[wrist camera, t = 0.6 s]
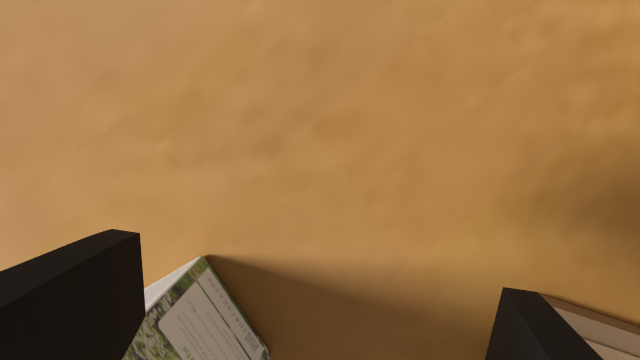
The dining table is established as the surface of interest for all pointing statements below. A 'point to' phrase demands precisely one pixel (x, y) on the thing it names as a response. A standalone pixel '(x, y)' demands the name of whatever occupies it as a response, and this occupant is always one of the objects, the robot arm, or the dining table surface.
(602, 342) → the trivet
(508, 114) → the dining table surface
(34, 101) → the dining table surface
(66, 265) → the robot arm
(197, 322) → the syrup box
